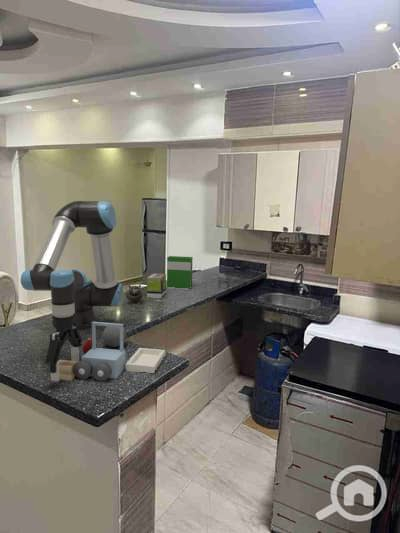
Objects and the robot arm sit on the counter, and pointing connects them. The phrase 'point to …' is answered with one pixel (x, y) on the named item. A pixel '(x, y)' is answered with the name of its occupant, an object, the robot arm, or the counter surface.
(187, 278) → the hardback book
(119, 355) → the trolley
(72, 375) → the block
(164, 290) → the tea box
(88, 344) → the red rounded piece
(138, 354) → the tray
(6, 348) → the counter surface
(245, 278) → the counter surface
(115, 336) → the decorative ball
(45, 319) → the counter surface
